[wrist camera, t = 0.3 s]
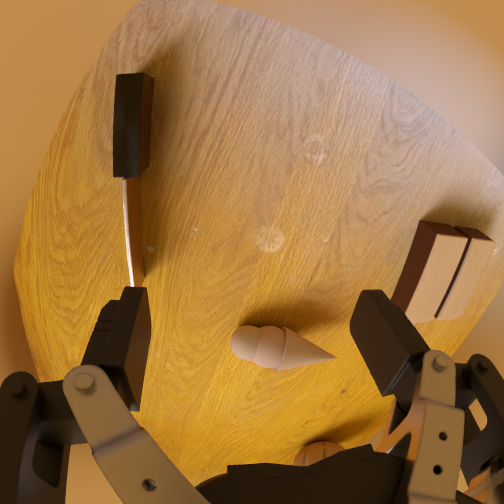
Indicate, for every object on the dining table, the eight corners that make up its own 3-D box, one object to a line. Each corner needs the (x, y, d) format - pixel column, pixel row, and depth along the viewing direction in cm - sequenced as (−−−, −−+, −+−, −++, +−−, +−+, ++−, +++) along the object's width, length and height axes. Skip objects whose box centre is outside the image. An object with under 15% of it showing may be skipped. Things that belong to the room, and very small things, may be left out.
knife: (130, 78, 22) (114, 74, 18) (154, 77, 23) (142, 72, 18) (133, 276, 33) (124, 302, 28) (153, 277, 33) (146, 304, 29)
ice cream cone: (341, 383, 34) (226, 365, 33) (325, 375, 40) (224, 358, 39) (352, 338, 35) (237, 316, 34) (333, 335, 41) (234, 315, 40)
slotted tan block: (419, 220, 34) (439, 235, 30) (477, 229, 36) (495, 242, 32) (387, 306, 40) (401, 325, 37) (447, 301, 43) (460, 317, 39)
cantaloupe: (348, 439, 65) (364, 483, 52) (301, 458, 67) (312, 502, 54) (331, 426, 58) (349, 479, 45) (277, 448, 60) (288, 499, 47)
